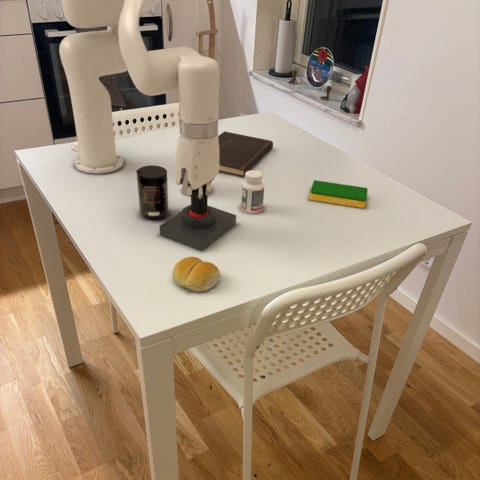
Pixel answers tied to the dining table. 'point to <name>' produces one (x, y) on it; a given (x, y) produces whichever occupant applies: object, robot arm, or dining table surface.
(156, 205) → the supplement container
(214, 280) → the bread roll
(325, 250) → the dining table surface
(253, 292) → the dining table surface
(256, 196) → the pill bottle
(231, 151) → the hardcover book
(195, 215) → the button
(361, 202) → the dish sponge
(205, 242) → the control box
